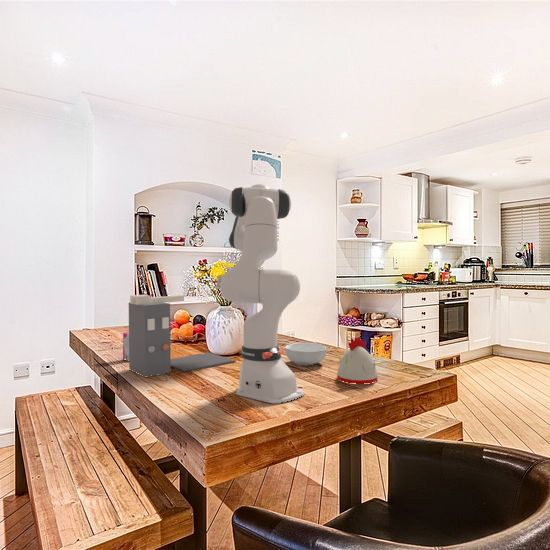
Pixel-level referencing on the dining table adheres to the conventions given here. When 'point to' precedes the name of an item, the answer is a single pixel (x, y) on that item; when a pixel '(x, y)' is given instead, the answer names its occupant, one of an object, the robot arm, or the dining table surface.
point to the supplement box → (126, 346)
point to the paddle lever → (153, 299)
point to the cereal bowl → (305, 353)
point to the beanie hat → (357, 364)
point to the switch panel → (149, 338)
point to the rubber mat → (199, 361)
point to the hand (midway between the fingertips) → (225, 290)
